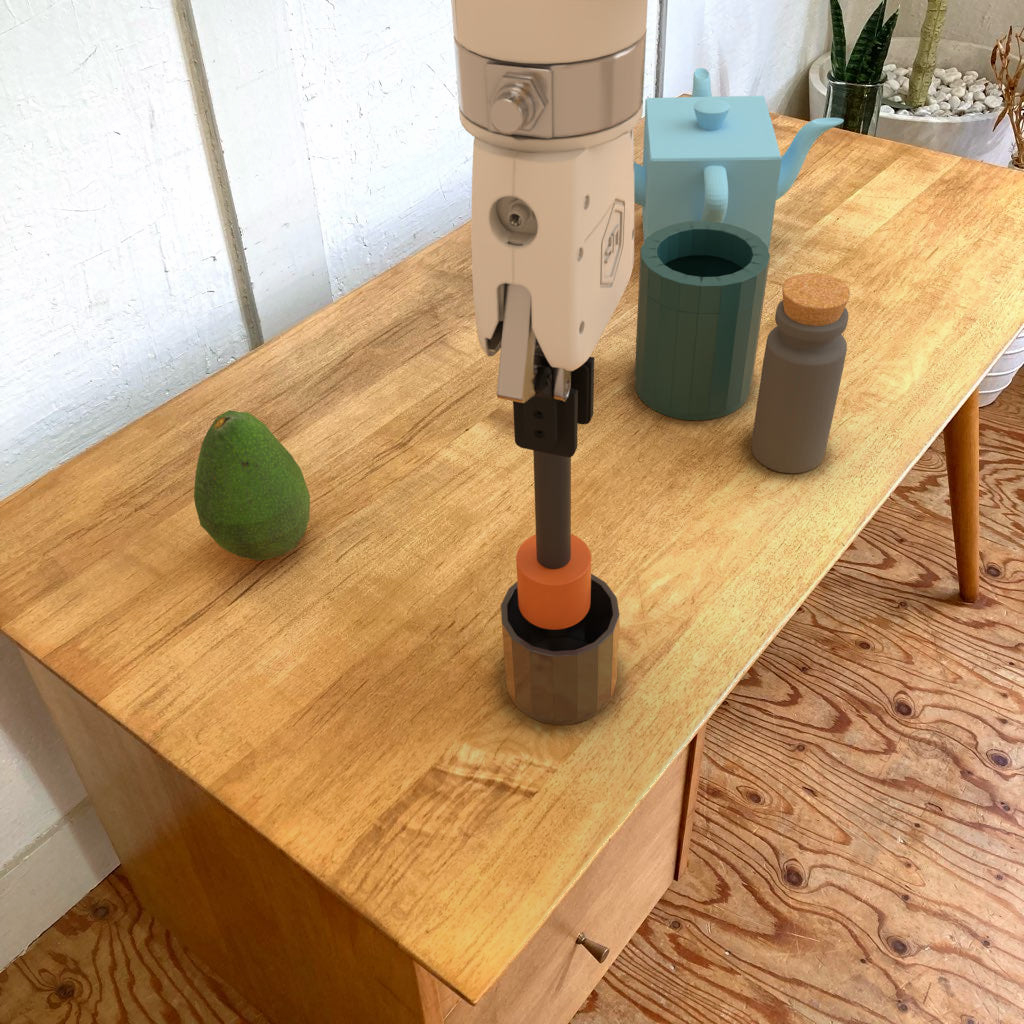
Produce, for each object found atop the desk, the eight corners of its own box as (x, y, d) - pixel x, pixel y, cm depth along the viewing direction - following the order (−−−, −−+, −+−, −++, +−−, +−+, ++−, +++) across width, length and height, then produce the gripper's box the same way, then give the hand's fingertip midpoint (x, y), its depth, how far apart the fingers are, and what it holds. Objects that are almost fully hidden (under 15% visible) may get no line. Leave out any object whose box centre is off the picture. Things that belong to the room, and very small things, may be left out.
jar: (760, 362, 94) (779, 229, 85) (738, 430, 87) (756, 294, 78) (650, 344, 96) (658, 214, 88) (621, 408, 90) (626, 274, 81)
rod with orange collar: (599, 585, 65) (606, 325, 52) (577, 637, 62) (580, 376, 49) (532, 569, 66) (523, 311, 53) (508, 620, 63) (492, 360, 50)
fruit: (281, 496, 83) (248, 373, 75) (340, 545, 79) (312, 421, 71) (194, 546, 80) (150, 423, 72) (251, 601, 75) (211, 476, 67)
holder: (628, 652, 71) (632, 581, 66) (597, 737, 66) (599, 668, 61) (527, 626, 73) (524, 556, 68) (490, 708, 68) (483, 638, 63)
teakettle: (709, 312, 100) (724, 165, 90) (571, 243, 110) (571, 104, 100) (829, 240, 109) (855, 99, 98) (691, 182, 119) (702, 49, 109)
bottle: (801, 484, 82) (833, 321, 72) (736, 454, 85) (758, 293, 74) (838, 446, 85) (873, 284, 75) (774, 418, 88) (800, 259, 78)
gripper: (580, 176, 36) (577, 553, 48) (687, 17, 46) (662, 360, 59) (381, 151, 38) (428, 518, 51) (527, 4, 48) (536, 338, 61)
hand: (554, 430), depth 55 cm, fingers closed on rod with orange collar, 2 cm apart
